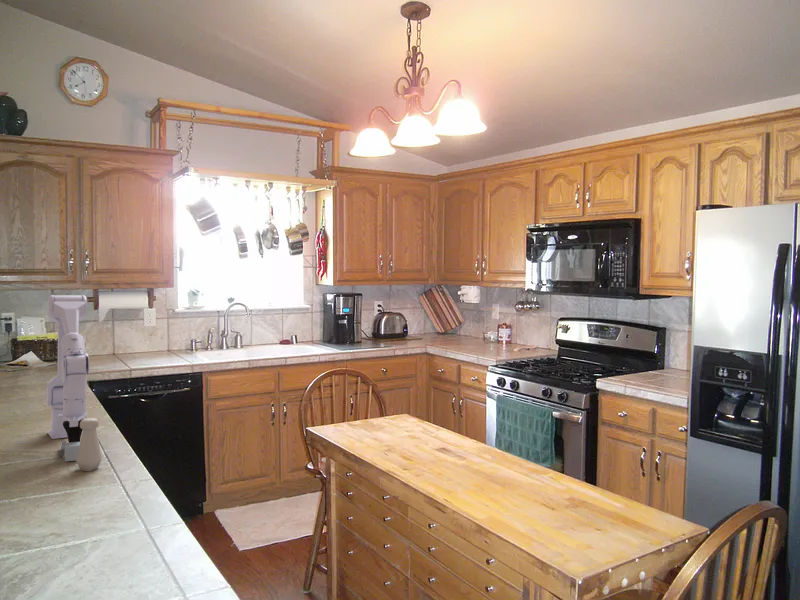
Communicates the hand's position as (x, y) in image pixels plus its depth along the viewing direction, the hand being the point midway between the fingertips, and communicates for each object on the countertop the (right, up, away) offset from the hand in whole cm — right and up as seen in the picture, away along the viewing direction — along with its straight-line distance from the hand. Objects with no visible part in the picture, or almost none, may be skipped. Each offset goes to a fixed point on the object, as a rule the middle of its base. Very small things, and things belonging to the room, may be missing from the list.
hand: (74, 446), depth 166 cm
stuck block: (+2, -2, -4) cm, 5 cm away
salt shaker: (+10, -3, -11) cm, 15 cm away
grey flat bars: (-1, -2, +3) cm, 4 cm away
